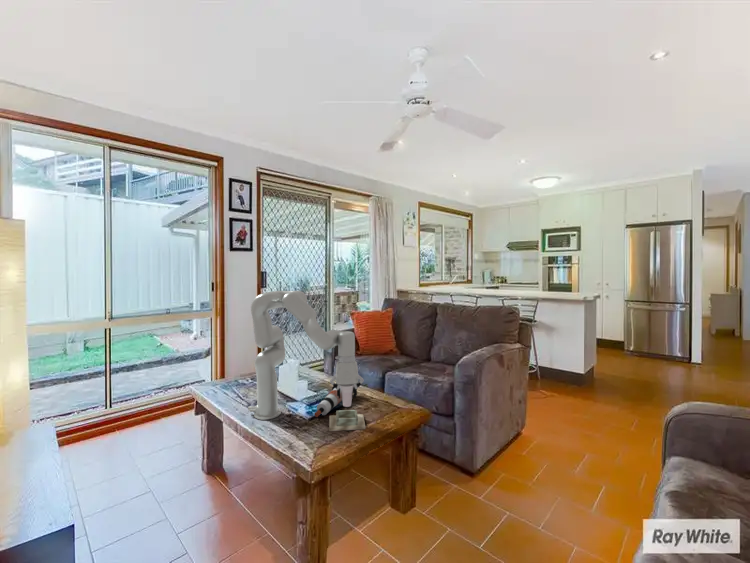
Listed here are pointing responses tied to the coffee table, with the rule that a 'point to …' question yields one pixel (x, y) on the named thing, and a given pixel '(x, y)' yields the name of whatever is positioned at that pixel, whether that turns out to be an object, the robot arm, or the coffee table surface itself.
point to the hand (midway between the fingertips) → (347, 396)
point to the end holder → (346, 420)
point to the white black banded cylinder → (329, 402)
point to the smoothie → (347, 394)
